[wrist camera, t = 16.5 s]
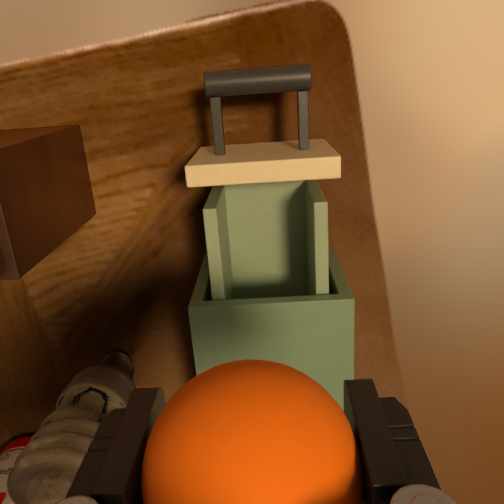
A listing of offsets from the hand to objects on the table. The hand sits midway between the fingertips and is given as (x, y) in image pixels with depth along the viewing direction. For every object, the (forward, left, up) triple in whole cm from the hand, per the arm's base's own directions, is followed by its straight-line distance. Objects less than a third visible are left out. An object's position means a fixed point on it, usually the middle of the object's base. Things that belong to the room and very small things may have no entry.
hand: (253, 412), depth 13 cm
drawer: (0, 0, -22) cm, 22 cm away
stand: (-15, +3, -23) cm, 28 cm away
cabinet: (0, -11, -23) cm, 26 cm away
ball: (0, 0, +2) cm, 2 cm away
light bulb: (-12, -13, -24) cm, 29 cm away
